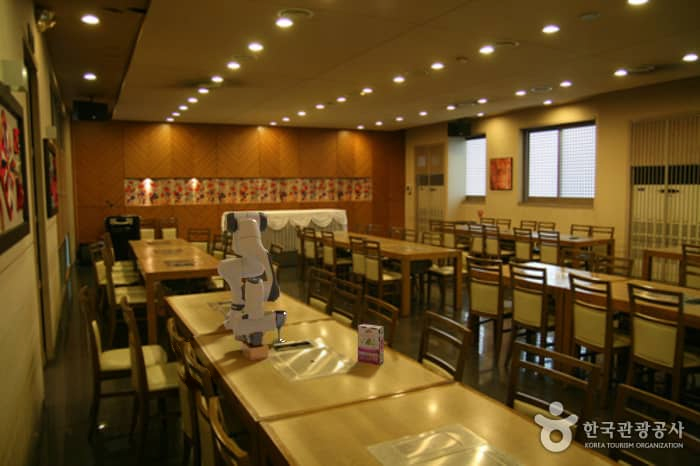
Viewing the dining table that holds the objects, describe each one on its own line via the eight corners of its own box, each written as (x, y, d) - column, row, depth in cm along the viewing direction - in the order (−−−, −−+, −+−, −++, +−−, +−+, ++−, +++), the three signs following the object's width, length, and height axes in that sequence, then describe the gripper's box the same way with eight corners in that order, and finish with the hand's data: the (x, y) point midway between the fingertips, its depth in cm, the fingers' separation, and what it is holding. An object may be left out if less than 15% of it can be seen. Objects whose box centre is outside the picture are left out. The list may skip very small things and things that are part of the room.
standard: (231, 348, 260) (230, 308, 258) (254, 344, 266) (254, 305, 264) (247, 361, 242) (246, 317, 240) (271, 356, 248) (271, 314, 246)
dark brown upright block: (249, 351, 251) (248, 330, 250) (257, 350, 253) (256, 329, 252) (253, 355, 246) (253, 334, 245) (261, 353, 248) (261, 332, 247)
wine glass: (288, 338, 277) (288, 310, 275) (284, 343, 269) (284, 314, 267) (273, 338, 277) (272, 310, 276) (269, 342, 270) (269, 313, 268)
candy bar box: (384, 361, 242) (384, 326, 241) (379, 365, 238) (379, 328, 236) (362, 357, 247) (362, 323, 246) (357, 361, 243) (357, 325, 241)
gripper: (272, 308, 256) (273, 337, 257) (231, 314, 245) (232, 343, 247) (278, 311, 250) (278, 340, 252) (236, 317, 240) (236, 347, 241)
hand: (255, 342), depth 249 cm, fingers closed on dark brown upright block, 4 cm apart
